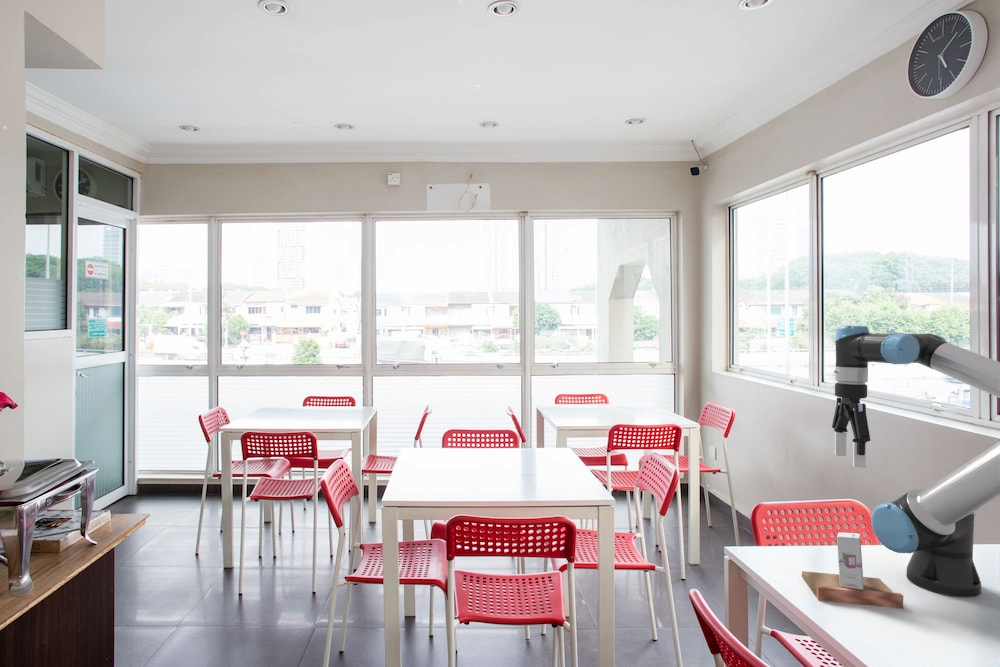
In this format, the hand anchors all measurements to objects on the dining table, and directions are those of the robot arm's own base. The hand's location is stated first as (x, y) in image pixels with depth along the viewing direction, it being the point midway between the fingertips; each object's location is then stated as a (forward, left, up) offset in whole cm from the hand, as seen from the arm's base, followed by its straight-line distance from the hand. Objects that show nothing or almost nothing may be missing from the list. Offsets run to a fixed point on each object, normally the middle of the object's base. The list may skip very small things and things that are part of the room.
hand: (849, 461), depth 158 cm
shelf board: (+5, +16, -29) cm, 33 cm away
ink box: (+5, +18, -27) cm, 33 cm away
